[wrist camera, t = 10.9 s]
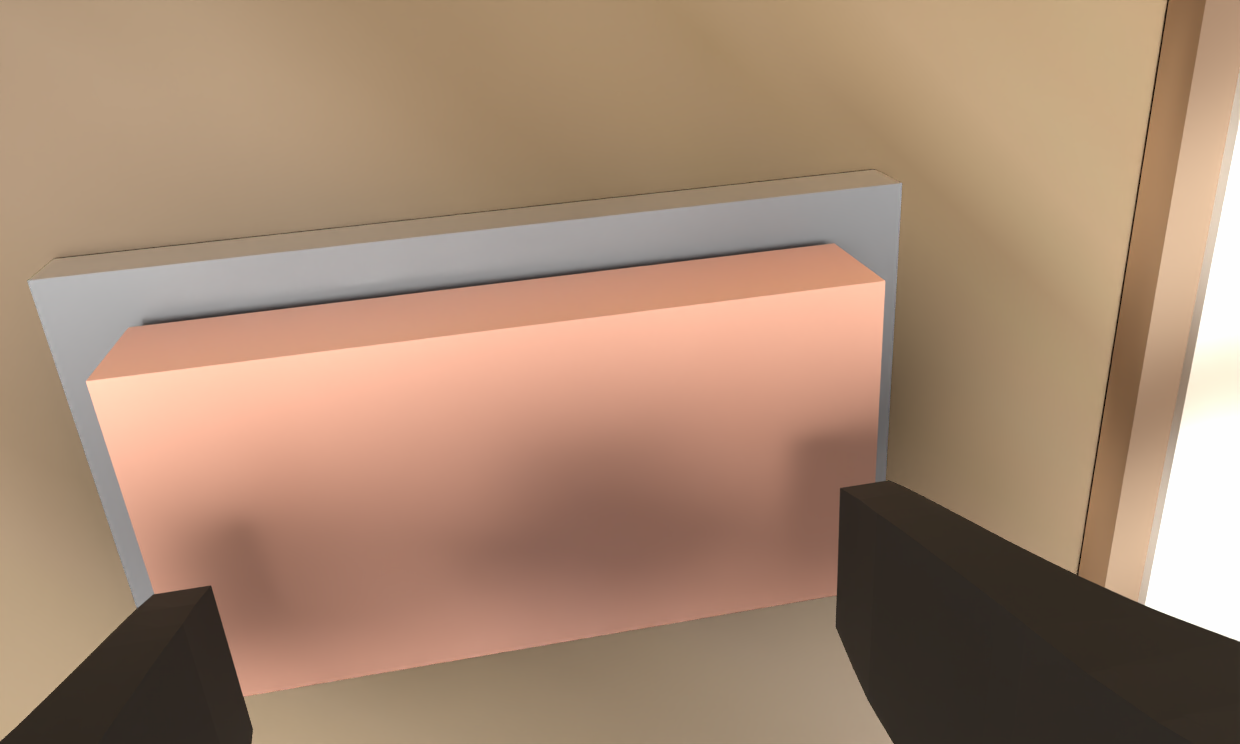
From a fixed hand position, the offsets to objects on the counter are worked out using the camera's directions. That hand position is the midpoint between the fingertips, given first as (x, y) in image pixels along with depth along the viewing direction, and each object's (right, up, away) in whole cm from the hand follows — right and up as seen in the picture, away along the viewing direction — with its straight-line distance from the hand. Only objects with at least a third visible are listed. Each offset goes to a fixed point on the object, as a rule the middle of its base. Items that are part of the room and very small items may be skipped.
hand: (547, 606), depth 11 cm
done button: (-1, +2, +4) cm, 4 cm away
